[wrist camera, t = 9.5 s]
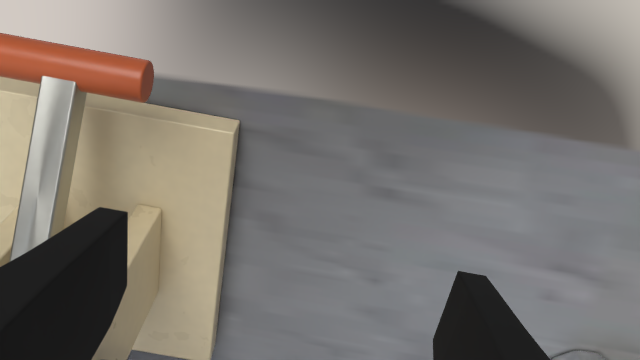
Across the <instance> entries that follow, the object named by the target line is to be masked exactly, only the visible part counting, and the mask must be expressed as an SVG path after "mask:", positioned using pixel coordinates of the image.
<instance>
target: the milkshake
mask: <svg viewBox="0 0 640 360" xmlns="http://www.w3.org/2000/svg"><path fill="white" fill-rule="evenodd" d="M552 360H606V359H604V358H603V357H602V356H601V355H600V354H598V353H596V352H587V351H578V350H574V351H571V352H568V353H565V354H562V355H559V356H556V357H554V358H553V359H552Z"/></svg>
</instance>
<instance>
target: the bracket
mask: <svg viewBox="0 0 640 360" xmlns="http://www.w3.org/2000/svg"><path fill="white" fill-rule="evenodd" d="M39 87H40V84H37V83H32V82H26V81H21V80H15V79H10V78H4V77H0V267H1V266H3V265H5V264H6V263H8V262H9V260H10V254H11V248H12V242H13V237H14V231H15V225H16V219H17V214H18V208H19V202H20V196H21V191H22V185H23V179H24V173H25V168H26V162H27V156H28V150H29V145H30V139H31V133H32V127H33V122H34V116H35V110H36V104H37V99H38V93H39ZM239 126H240V121H239V120H234V119H229V118H223V117H218V116H212V115H207V114H201V113H196V112H190V111H185V110H180V109H174V108H169V107H163V106H158V105H152V104H147V103H140V102H135V101H129V100H124V99H119V98H113V97H108V96H102V95H97V94H91V93H87V95H86V101H85V107H84V112H83V118H82V124H81V129H80V135H79V141H78V147H77V152H76V158H75V164H74V169H73V175H72V181H71V187H70V192H69V198H68V204H67V209H66V215H65V221H64V227H63V229H65V228H67V227H68V226H70V225H71V224H73V223H75V222H76V221H78V220H79V219H81V218H82V217H84V216H85V215H87V214H89V213H90V212H92V211H94V210H95V209H97V208H99V207H103V208H109V209H114V210H120V211H126V212H128V258H127V288H126V290H125V293H124V295H123V298H122V300H121V303H120V305H119V308H118V310H117V312H116V315H115V317H114V319H113V322H112V324H111V326H110V328H109V330H108V332H107V333H106V335H105V337H104V339H103V340H102V342H101V344H100V346H99V347H98V349H97V351H96V353H95V354H94V356H93V358H92V360H127V358H128V356H129V354H130V352H131V350H137V351H143V352H149V353H154V354H160V355H166V356H172V357H177V358H183V359H189V360H211V357H212V354H213V350H214V347H215V342H216V333H217V324H218V315H219V306H220V297H221V288H222V279H223V270H224V261H225V252H226V243H227V234H228V225H229V216H230V207H231V198H232V189H233V180H234V171H235V162H236V153H237V144H238V135H239Z"/></svg>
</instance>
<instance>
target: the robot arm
mask: <svg viewBox="0 0 640 360" xmlns="http://www.w3.org/2000/svg"><path fill="white" fill-rule="evenodd" d="M127 258H128V212H126V211H120V210H114V209H109V208H103V207H99V208H97V209H95V210H94V211H92V212H90V213H89V214H87V215H85V216H84V217H82V218H81V219H79V220H78V221H76V222H75V223H73V224H71V225H70V226H68V227H67V228H65V229H63V230H62V231H60V232H59V233H57V234H56V235H54V236H52V237H51V238H49V239H48V240H46V241H44V242H43V243H41V244H39V245H38V246H36V247H34V248H33V249H31V250H30V251H28V252H26V253H25V254H23V255H21V256H19V257H17V258H16V259H14V260H12V261H10V262H8V263H6V264H5V265H3V266H1V267H0V360H92V358H93V356H94V354H95V353H96V351H97V349H98V347H99V346H100V344H101V342H102V340H103V339H104V337H105V335H106V333H107V332H108V330H109V328H110V326H111V324H112V322H113V319H114V317H115V315H116V312H117V310H118V308H119V305H120V303H121V300H122V298H123V295H124V293H125V290H126V288H127ZM433 360H550V359H549V357H548V356H547V355H546V354H545V353H544V351H543V350H542V349H541V348H540V347H539V345H538V344H537V343H536V342H535V340H534V339H533V338H532V337H531V335H530V334H529V333H528V331H527V330H526V329H525V328H524V326H523V325H522V324H521V322H520V321H519V320H518V318H517V317H516V316H515V314H514V313H513V312H512V310H511V309H510V308H509V306H508V305H507V304H506V302H505V301H504V300H503V298H502V297H501V295H500V294H499V293H498V291H497V290H496V289H495V287H494V286H493V285H492V283H491V282H490V281H489V280H488V278H487V277H486V276H483V275H477V274H472V273H466V272H461V271H458V272H457V275H456V278H455V281H454V283H453V286H452V289H451V292H450V294H449V297H448V300H447V303H446V305H445V308H444V311H443V314H442V316H441V319H440V322H439V325H438V327H437V330H436V333H435V335H434V338H433Z"/></svg>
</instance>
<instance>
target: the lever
mask: <svg viewBox="0 0 640 360" xmlns="http://www.w3.org/2000/svg"><path fill="white" fill-rule="evenodd" d="M0 77H4V78H10V79H15V80H21V81H26V82H32V83H37V84H40V87H39V93H38V99H37V104H36V110H35V116H34V122H33V127H32V133H31V139H30V145H29V150H28V156H27V162H26V168H25V173H24V179H23V185H22V191H21V196H20V202H19V208H18V214H17V219H16V225H15V231H14V237H13V242H12V248H11V254H10V260H9V262H10V261H12V260H14V259H16V258H17V257H19V256H21V255H23V254H25V253H26V252H28V251H30V250H31V249H33V248H34V247H36V246H38V245H39V244H41V243H43V242H44V241H46V240H48V239H49V238H51V237H52V236H54V235H56V234H57V233H59V232H60V231H62V230H63V227H64V221H65V215H66V209H67V204H68V198H69V192H70V187H71V181H72V175H73V169H74V164H75V158H76V152H77V147H78V141H79V135H80V129H81V124H82V118H83V112H84V107H85V101H86V95H87V93H91V94H97V95H102V96H108V97H113V98H119V99H124V100H129V101H135V102H140V103H144V102H146V101H147V100H148V98H149V96H150V94H151V90H152V86H153V79H154V70H153V65H152V63H151V62H150V61H148V60H143V59H137V58H133V57H127V56H122V55H116V54H111V53H106V52H100V51H95V50H90V49H84V48H79V47H73V46H68V45H63V44H57V43H52V42H46V41H41V40H36V39H30V38H24V37H19V36H14V35H9V34H3V33H0Z"/></svg>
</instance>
